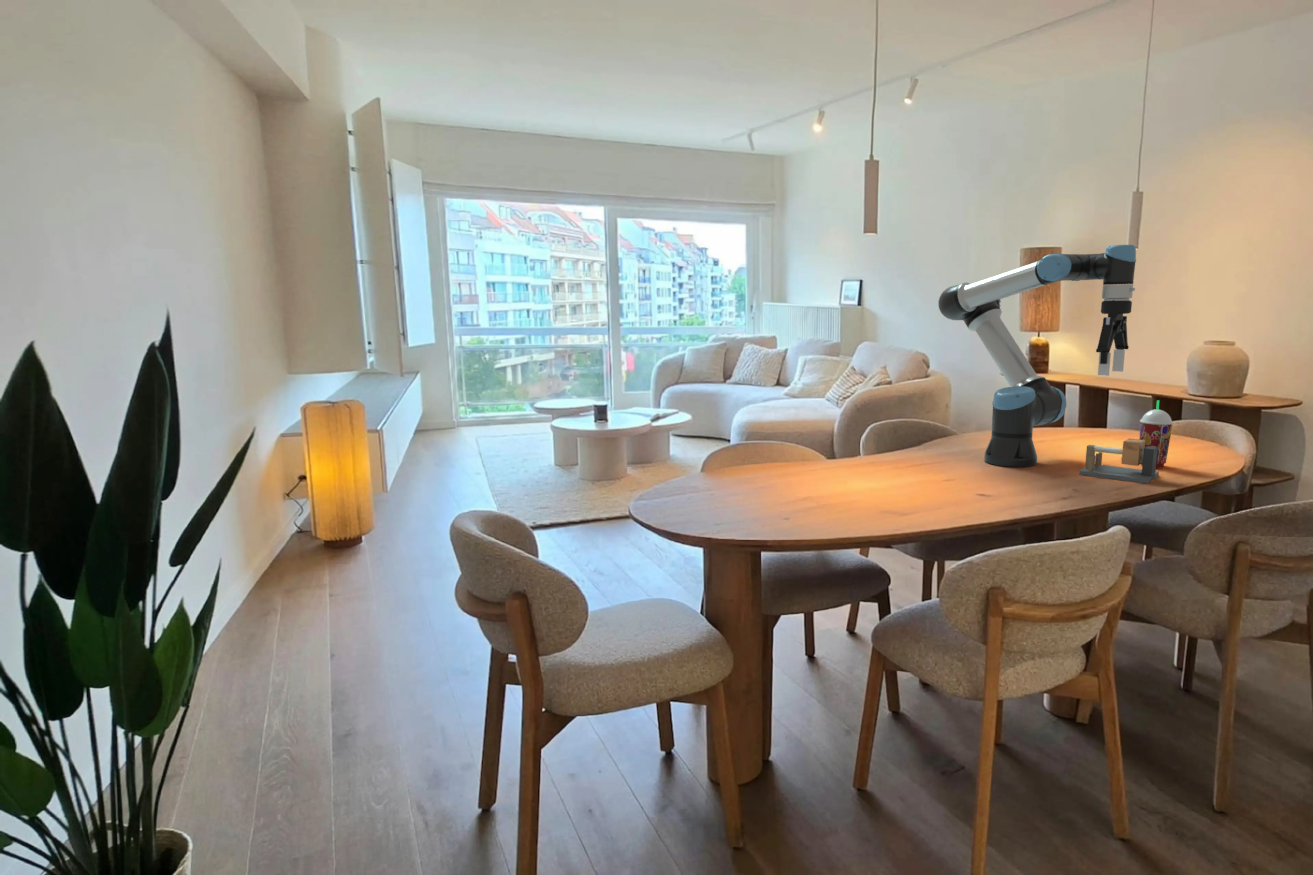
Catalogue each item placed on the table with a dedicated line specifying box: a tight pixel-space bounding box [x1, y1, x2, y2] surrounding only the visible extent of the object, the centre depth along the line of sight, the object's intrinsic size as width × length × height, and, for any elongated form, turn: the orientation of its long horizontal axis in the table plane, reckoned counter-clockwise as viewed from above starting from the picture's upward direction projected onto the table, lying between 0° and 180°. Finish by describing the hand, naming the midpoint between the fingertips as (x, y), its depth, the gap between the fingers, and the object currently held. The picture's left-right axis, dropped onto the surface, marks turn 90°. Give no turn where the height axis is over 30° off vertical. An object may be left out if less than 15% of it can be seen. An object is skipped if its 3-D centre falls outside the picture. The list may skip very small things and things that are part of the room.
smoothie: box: [1139, 399, 1174, 469], centre depth 225 cm, size 8×8×20 cm
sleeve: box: [1120, 438, 1145, 467], centre depth 213 cm, size 4×6×6 cm, turn 134°
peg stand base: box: [1079, 444, 1160, 484], centre depth 216 cm, size 17×12×9 cm
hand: (1110, 373), depth 220 cm, fingers open, 13 cm apart
